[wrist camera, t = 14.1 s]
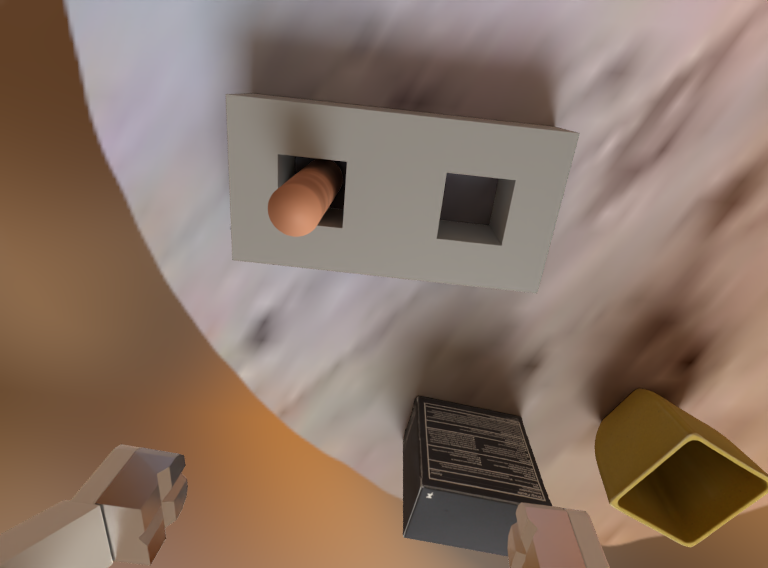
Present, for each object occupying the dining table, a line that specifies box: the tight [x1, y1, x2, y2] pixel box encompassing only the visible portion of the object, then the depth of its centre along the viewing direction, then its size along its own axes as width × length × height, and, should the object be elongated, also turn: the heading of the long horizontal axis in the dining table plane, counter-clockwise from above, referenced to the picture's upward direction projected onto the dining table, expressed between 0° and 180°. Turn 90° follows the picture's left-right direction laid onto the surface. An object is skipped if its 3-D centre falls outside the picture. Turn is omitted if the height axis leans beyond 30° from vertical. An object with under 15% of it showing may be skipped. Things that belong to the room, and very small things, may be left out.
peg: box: [268, 159, 343, 237], centre depth 30 cm, size 3×3×10 cm
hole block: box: [226, 93, 580, 293], centre depth 32 cm, size 22×11×5 cm, turn 84°
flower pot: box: [595, 388, 768, 547], centre depth 38 cm, size 9×9×9 cm
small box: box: [403, 396, 552, 556], centre depth 39 cm, size 11×6×10 cm, turn 78°
